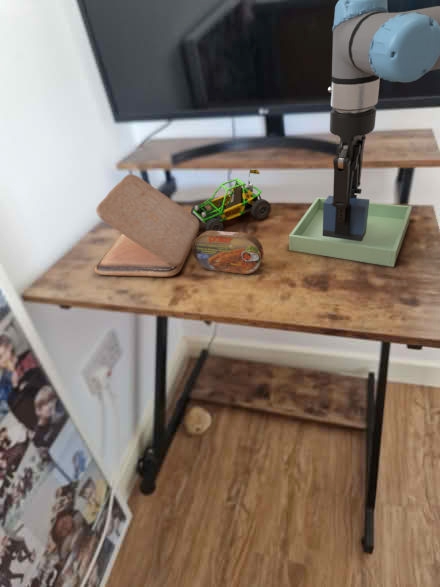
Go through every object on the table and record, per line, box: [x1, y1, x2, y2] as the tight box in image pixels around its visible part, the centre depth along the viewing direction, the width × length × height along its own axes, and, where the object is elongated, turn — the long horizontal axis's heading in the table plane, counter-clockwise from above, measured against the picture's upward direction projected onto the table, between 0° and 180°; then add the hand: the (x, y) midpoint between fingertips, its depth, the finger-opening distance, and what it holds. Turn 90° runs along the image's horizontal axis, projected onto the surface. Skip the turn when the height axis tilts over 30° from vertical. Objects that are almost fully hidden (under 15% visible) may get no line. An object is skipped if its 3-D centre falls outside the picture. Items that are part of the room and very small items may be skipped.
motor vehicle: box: [190, 169, 272, 232], centre depth 100 cm, size 12×19×11 cm, turn 115°
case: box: [94, 174, 201, 278], centre depth 89 cm, size 20×21×16 cm
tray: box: [288, 196, 413, 268], centre depth 88 cm, size 21×19×4 cm
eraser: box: [323, 195, 370, 241], centre depth 81 cm, size 8×4×8 cm, turn 62°
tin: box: [191, 230, 265, 275], centre depth 82 cm, size 15×3×8 cm, turn 68°
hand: (344, 228), depth 83 cm, fingers closed on eraser, 3 cm apart
